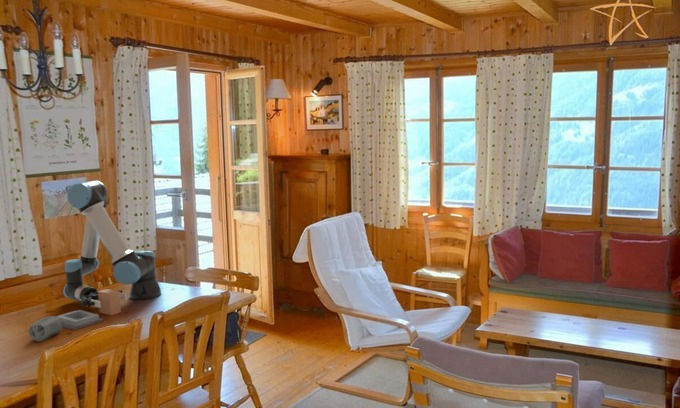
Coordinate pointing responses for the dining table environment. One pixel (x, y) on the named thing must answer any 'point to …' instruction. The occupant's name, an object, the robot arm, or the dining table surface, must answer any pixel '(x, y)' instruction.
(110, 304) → the key block
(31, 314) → the dining table surface
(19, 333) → the dining table surface
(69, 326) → the base
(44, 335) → the grey faceted cylinder
